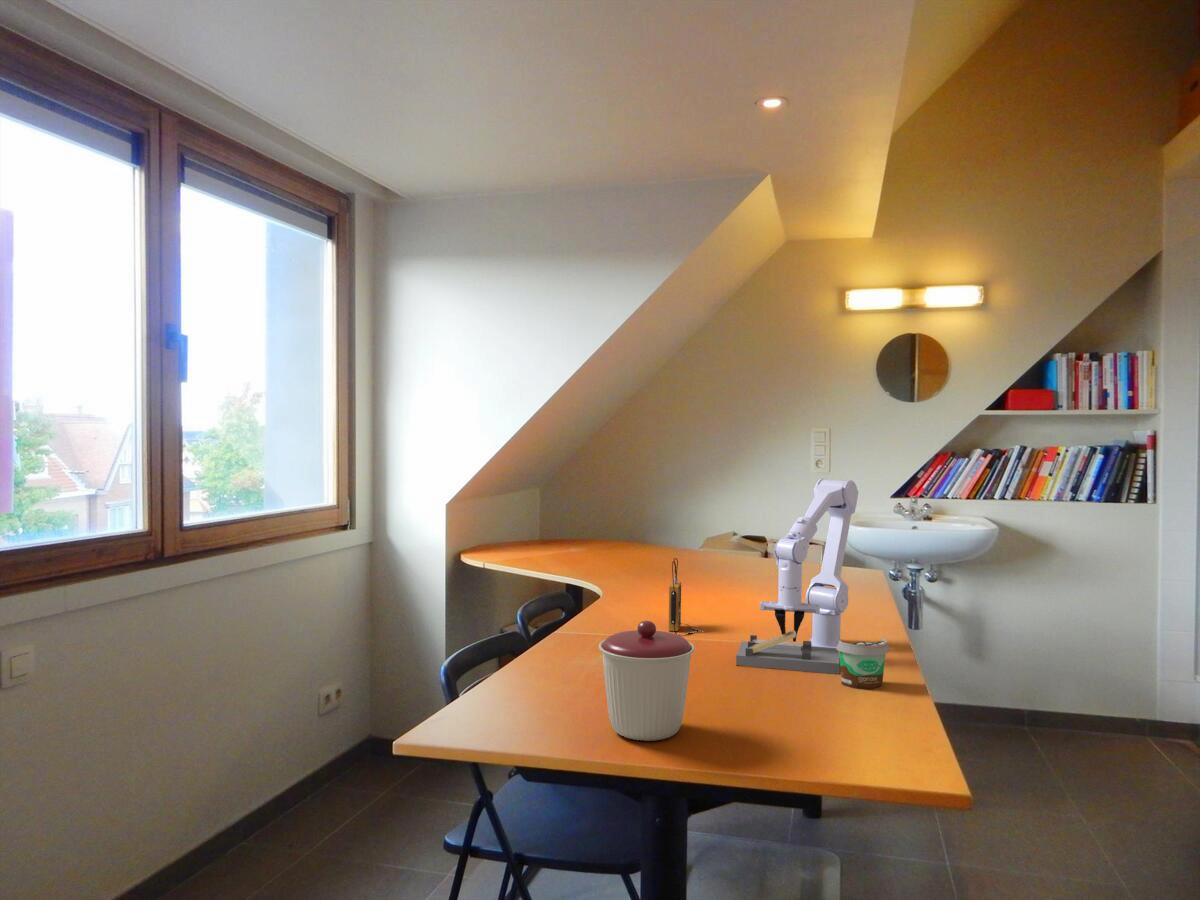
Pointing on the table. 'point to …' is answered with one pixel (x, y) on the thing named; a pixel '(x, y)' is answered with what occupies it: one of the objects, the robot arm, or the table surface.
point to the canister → (646, 681)
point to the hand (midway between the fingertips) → (789, 640)
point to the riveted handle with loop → (675, 603)
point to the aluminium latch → (783, 645)
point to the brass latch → (773, 641)
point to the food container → (862, 664)
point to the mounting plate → (790, 658)
